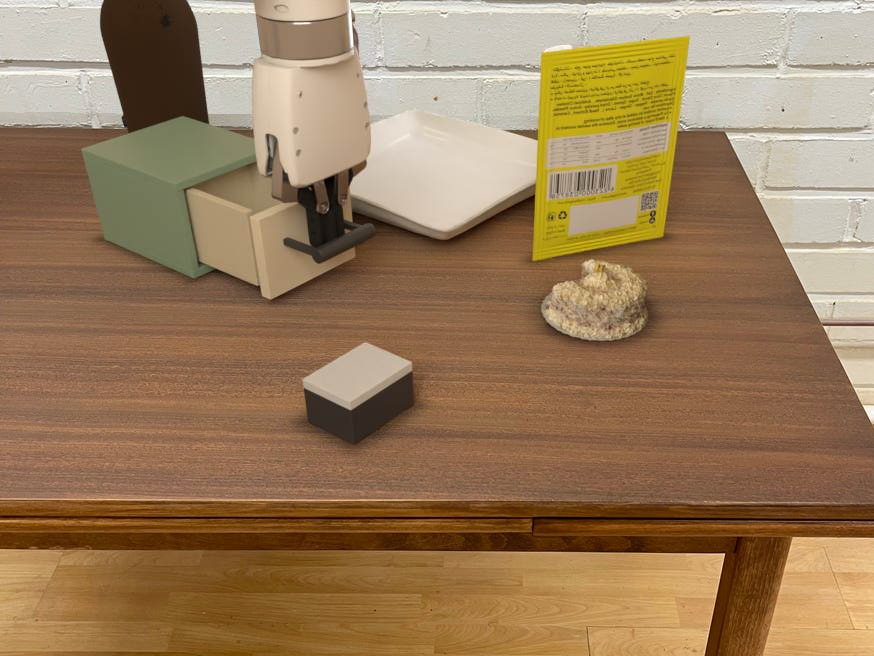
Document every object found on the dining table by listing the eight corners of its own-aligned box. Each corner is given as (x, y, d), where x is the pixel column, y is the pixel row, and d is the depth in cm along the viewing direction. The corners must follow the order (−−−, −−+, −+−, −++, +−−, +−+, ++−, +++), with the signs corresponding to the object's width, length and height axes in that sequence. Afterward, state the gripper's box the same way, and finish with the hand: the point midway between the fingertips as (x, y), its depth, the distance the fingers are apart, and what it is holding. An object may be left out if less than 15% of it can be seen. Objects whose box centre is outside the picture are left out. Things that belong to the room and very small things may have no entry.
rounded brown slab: (235, 150, 121) (200, -75, 105) (187, 180, 113) (142, -59, 97) (163, 140, 123) (119, -82, 108) (112, 168, 116) (56, -66, 100)
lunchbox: (354, 445, 72) (349, 401, 70) (307, 422, 75) (301, 378, 72) (414, 404, 77) (412, 361, 74) (368, 383, 79) (365, 341, 77)
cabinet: (288, 235, 101) (277, 145, 95) (194, 279, 93) (175, 183, 87) (199, 201, 108) (182, 115, 102) (104, 239, 100) (80, 148, 94)
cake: (661, 307, 90) (673, 256, 87) (626, 358, 84) (637, 305, 80) (565, 277, 93) (572, 227, 90) (523, 324, 86) (529, 271, 83)
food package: (660, 235, 102) (687, 34, 89) (665, 239, 101) (693, 37, 88) (530, 259, 97) (538, 51, 85) (534, 263, 96) (544, 54, 84)
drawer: (394, 271, 93) (390, 194, 88) (310, 317, 86) (300, 235, 81) (263, 222, 102) (252, 149, 97) (177, 259, 95) (161, 183, 90)
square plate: (447, 264, 96) (447, 227, 94) (261, 198, 109) (256, 164, 107) (590, 182, 113) (593, 149, 111) (414, 133, 126) (412, 103, 123)
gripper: (337, 10, 83) (354, 211, 95) (202, 47, 74) (239, 264, 86) (401, 24, 80) (411, 230, 91) (269, 64, 71) (298, 289, 82)
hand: (328, 246), depth 88 cm, fingers closed
